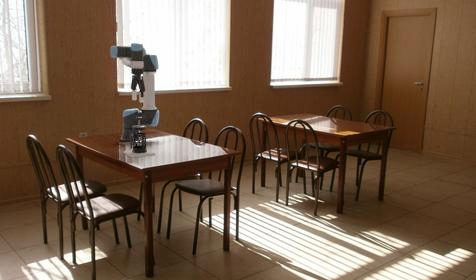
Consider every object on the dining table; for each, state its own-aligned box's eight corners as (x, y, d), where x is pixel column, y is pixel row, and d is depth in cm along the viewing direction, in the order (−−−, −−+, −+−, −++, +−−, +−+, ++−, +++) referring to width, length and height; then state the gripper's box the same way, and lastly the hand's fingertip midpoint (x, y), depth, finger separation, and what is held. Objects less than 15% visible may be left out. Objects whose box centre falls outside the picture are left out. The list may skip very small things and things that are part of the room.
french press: (143, 149, 313) (142, 115, 309) (150, 151, 306) (150, 117, 302) (127, 151, 305) (126, 116, 301) (134, 154, 298) (133, 118, 294)
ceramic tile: (123, 153, 308) (123, 150, 307) (146, 150, 316) (146, 148, 316) (130, 157, 296) (130, 155, 296) (154, 154, 304) (154, 152, 304)
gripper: (125, 67, 304) (126, 99, 308) (138, 68, 283) (139, 103, 287) (136, 67, 308) (137, 99, 312) (150, 68, 287) (150, 103, 291)
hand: (138, 101), depth 300 cm, fingers open, 13 cm apart
